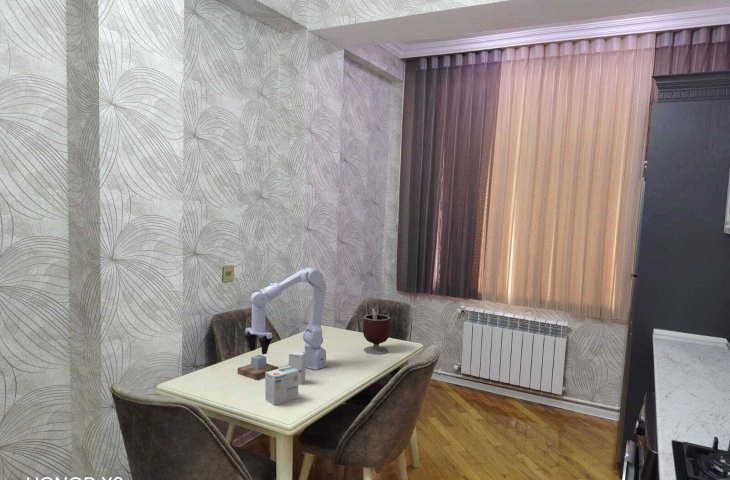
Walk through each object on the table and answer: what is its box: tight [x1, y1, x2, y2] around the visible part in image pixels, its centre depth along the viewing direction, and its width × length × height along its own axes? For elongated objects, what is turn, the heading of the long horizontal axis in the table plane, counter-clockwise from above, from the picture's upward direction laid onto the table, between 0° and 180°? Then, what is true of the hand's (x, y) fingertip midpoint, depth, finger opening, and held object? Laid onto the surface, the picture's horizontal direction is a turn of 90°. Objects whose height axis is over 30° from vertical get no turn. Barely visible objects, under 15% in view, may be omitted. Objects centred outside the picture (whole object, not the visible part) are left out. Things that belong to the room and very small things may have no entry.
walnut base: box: [237, 362, 279, 381], centre depth 202 cm, size 12×12×3 cm
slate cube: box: [250, 354, 267, 370], centre depth 202 cm, size 4×4×4 cm
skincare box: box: [288, 350, 307, 385], centre depth 193 cm, size 6×4×12 cm
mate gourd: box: [362, 307, 391, 356], centre depth 239 cm, size 16×14×20 cm
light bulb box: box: [264, 365, 299, 406], centre depth 175 cm, size 11×7×11 cm, turn 133°
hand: (258, 352), depth 202 cm, fingers open, 7 cm apart
